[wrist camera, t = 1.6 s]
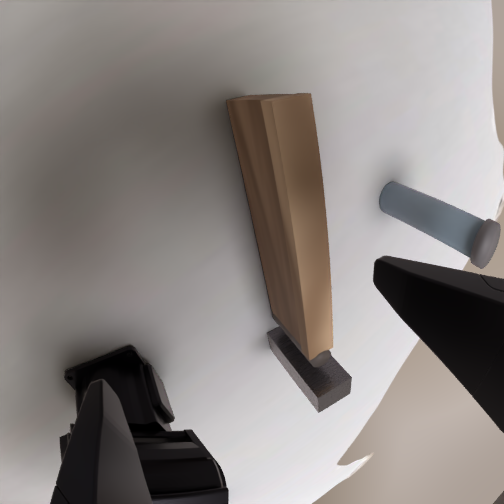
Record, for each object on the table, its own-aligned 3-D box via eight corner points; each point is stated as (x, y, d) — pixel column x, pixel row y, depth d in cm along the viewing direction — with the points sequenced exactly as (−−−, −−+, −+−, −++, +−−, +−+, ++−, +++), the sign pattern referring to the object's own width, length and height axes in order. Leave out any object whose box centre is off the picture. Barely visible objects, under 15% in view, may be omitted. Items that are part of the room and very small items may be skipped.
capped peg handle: (377, 221, 27) (474, 276, 18) (376, 184, 25) (484, 233, 16) (402, 209, 28) (494, 257, 19) (402, 174, 26) (503, 216, 17)
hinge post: (271, 350, 28) (318, 412, 21) (267, 332, 27) (317, 398, 20) (299, 335, 29) (350, 393, 22) (296, 317, 27) (351, 377, 21)
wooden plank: (271, 324, 26) (310, 372, 21) (221, 101, 17) (271, 100, 12) (292, 314, 27) (333, 358, 22) (253, 94, 17) (310, 93, 12)
